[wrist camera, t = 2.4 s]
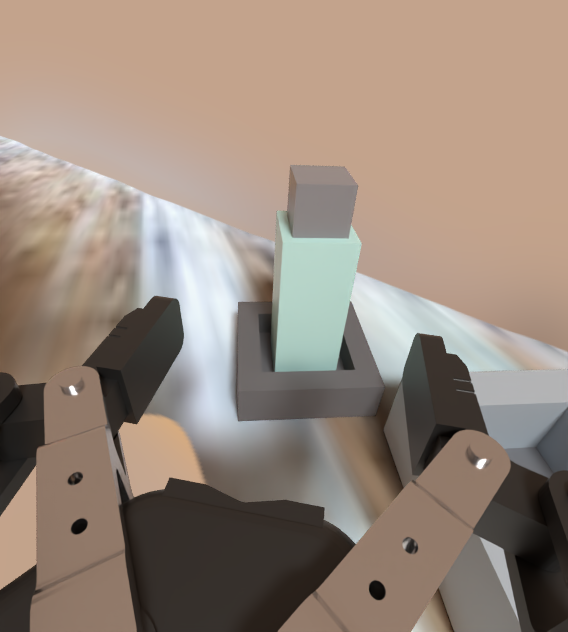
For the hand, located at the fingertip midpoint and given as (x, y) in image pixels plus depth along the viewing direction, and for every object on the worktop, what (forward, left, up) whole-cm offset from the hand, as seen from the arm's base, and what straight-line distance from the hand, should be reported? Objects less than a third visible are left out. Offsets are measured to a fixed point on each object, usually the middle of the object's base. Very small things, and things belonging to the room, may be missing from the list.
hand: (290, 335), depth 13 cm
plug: (+3, +11, -12) cm, 17 cm away
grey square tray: (+3, +11, -13) cm, 17 cm away
